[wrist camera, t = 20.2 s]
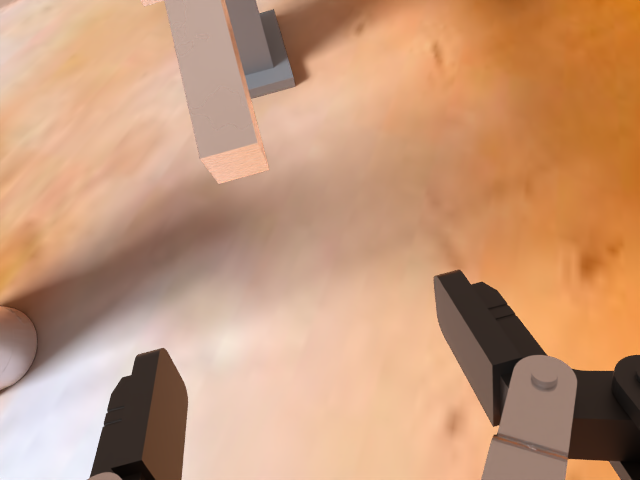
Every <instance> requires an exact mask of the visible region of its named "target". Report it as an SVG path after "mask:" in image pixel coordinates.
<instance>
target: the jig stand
mask: <svg viewBox="0 0 640 480" xmlns="http://www.w3.org/2000/svg"><path fill="white" fill-rule="evenodd" d="M225 2H226V6H227V10H228V14H229V18H230V21H231V25H232V29H233V33H234V37H235V40H236V44H237V48H238V52H239V56H240V60H241V63H242V67H243V71H244V75H245V79H246V82H247V86H248V90H249V94H250V98H251V99H252V98H255V97H259V96H263V95H266V94H270V93H273V92H277V91H281V90H284V89H288V88H291V87H295V82H294V77H293V74H292V70H291V67H290V63H289V60H288V56H287V53H286V50H285V46H284V43H283V39H282V36H281V32H280V29H279V26H278V22H277V19H276V15H275V12H274V9H273V10H270V11H266V12H263V13H259V11H258V7H257V4H256V0H225Z"/></svg>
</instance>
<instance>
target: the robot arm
mask: <svg viewBox="0 0 640 480" xmlns="http://www.w3.org/2000/svg"><path fill="white" fill-rule="evenodd" d="M434 289H435V300H436V310H437V318H438V322H439V325H440V328H441V331H442V333H443V335H444V337H445V339H446V341H447V343H448V345H449V346H450V348H451V350H452V352H453V354H454V356H455V357H456V359H457V361H458V363H459V365H460V367H461V368H462V370H463V372H464V374H465V376H466V378H467V379H468V381H469V383H470V385H471V387H472V389H473V390H474V392H475V394H476V396H477V398H478V400H479V401H480V403H481V405H482V407H483V409H484V411H485V413H486V414H487V416H488V418H489V420H490V422H491V424H492V425H493V427H494V426H498V425H499V429H498V433H497V435H494V436H493V438H492V441H491V444H490V448H489V452H488V455H487V459H486V463H485V467H484V471H483V475H482V479H481V480H565V476H566V468H567V460H568V459H584V460H603V461H609V462H610V464H611V465H612V467H613V468H614V470H615V471H616V473H617V474H618V476H619V477H620V479H621V480H640V355H633V356H628V357H625V358H623V359H621V360H620V361H619V362H618V363H617V364H616V367H615V370H614V371H581V370H575V369H571V368H570V367H569V366H568V365H567V364H566V363H564V362H563V361H561V360H559V359H557V358H554V357H550V356H548V355H547V354H546V353H545V352H544V351H543V349H542V348H541V347H540V345H539V344H538V343H537V342H536V340H535V339H534V338H533V336H532V335H531V334H530V332H529V331H528V330H527V329H526V327H525V326H524V325H523V323H522V322H521V321H520V319H519V318H518V317H517V316H515V313H514V312H513V310H512V309H511V308H510V306H508V305H507V302H506V301H505V300H504V299H503V297H502V296H501V295H500V293H499V292H498V291H497V290H495V289H494V288H492V287H490V286H489V285H487V284H485V283H483V282H479V283H476V284H472V285H471V284H470V283H469V281H468V280H467V278H466V277H465V275H464V274H463V273H462V271H461V270H455V271H452V272H448V273H444V274H440V275H437V276H434ZM36 350H37V335H36V330H35V328H34V325H33V323H32V322H31V320H30V319H29V318H28V317H27V316H26V315H25V314H24V313H23V312H21V311H19V310H17V309H14V308H9V307H4V306H0V390H2V389H4V388H6V387H9V386H11V385H13V384H14V383H15V382H17V381H18V380H20V378H21V377H22V376H23V375H24V374H25V373H26V372H27V371H28V369H29V368H30V366H31V364H32V362H33V360H34V358H35V354H36ZM187 409H188V396H187V390H186V387H185V384H184V382H183V380H182V378H181V376H180V374H179V372H178V370H177V369H176V367H175V365H174V363H173V361H172V359H171V357H170V356H169V354H168V352H167V350H166V349H164V348H161V349H157V350H153V351H150V352H146V353H142V354H138V355H137V356H136V358H135V361H134V366H133V370H132V375H130V376H126V377H122V379H121V380H120V382H119V383H118V385H117V386H116V388H115V389H114V391H113V392H112V394H111V397H110V401H109V405H108V409H107V411H108V413H106V417H105V421H104V427H103V428H102V432H101V436H100V440H99V444H98V448H97V452H96V456H95V460H94V463H93V467H92V471H91V475H90V478H89V479H88V480H181V477H182V466H183V454H184V443H185V431H186V420H187Z"/></svg>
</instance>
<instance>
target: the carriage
mask: <svg viewBox="0 0 640 480" xmlns="http://www.w3.org/2000/svg"><path fill="white" fill-rule="evenodd" d="M161 1H165V5H166V10H167V14H168V18H169V23H170V27H171V32H172V36H173V41H174V45H175V50H176V54H177V59H178V63H179V67H180V72H181V76H182V81H183V85H184V90H185V94H186V99H187V103H188V108H189V112H190V116H191V121H192V125H193V130H194V134H195V139H196V143H197V148H198V152H199V157H200V159H201V161H202V162H203V163H204V165H205V166H206V167H207V169H208V170H209V171H210V173H211V174H212V175H213V177H214V178H215V179H216V181H217V182H218V183H219V184H221V183H224V182H228V181H232V180H235V179H239V178H242V177H246V176H250V175H253V174H257V173H260V172H264V171H268V170H269V166H268V162H267V159H266V155H265V151H264V147H263V143H262V139H261V136H260V132H259V128H258V124H257V120H256V117H255V113H254V109H253V105H252V101H251V98H250V94H249V90H248V86H247V82H246V79H245V75H244V71H243V67H242V63H241V60H240V56H239V52H238V48H237V44H236V40H235V37H234V33H233V29H232V25H231V21H230V18H229V14H228V10H227V6H226V2H225V0H141V2H142V4H143V5H144V6H146V5H150V4H154V3H157V2H161Z"/></svg>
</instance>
